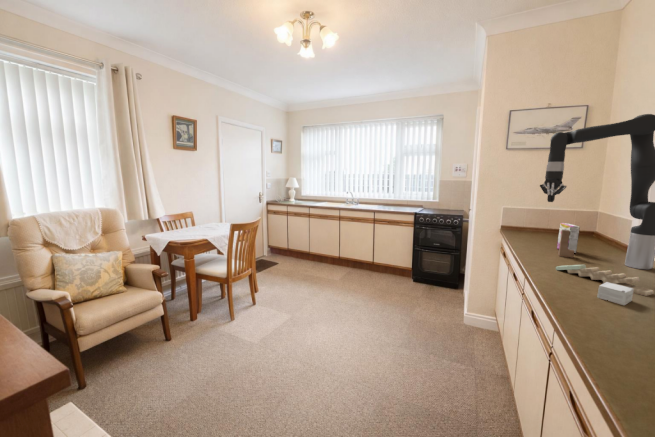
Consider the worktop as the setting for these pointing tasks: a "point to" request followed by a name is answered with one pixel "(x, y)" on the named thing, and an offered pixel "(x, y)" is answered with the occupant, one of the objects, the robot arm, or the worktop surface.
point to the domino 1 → (570, 267)
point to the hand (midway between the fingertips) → (550, 201)
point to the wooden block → (565, 245)
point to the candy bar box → (572, 236)
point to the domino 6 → (637, 289)
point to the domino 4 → (609, 276)
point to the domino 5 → (622, 280)
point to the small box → (615, 293)
